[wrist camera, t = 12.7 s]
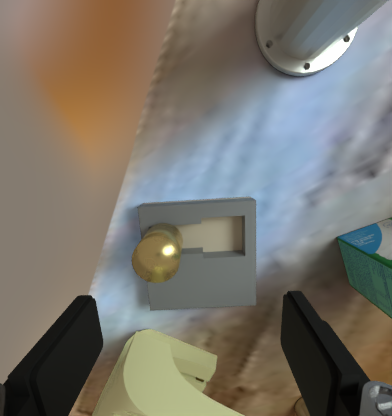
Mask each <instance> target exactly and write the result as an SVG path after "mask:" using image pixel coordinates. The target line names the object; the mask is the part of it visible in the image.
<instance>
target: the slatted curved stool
mask: <svg viewBox="0 0 392 416" xmlns="http://www.w3.org/2000/svg"><path fill="white" fill-rule="evenodd" d="M216 362H217V356H216V355H214V354H211V353H209V352H207V351H204V350H202V349H199V348H197V347H194V346H192V345H189V344H187V343H184V342H182V341H180V340H177V339H175V338H172V337H170V336H167V335H165V334H162V333H160V332H157V331H155V330H151V329H146V330H142V331H140V332H138V331H136V333H135V334H134V335H133V336H132V337H131V338H130V339H129V340H128V341H127V342H126V344H125V346H124V348H123V350H122V352H121V354H120V356H119V358H118V361H117V362H116V364H115V367H114V369H113V371H112V373H111V375H110V377H109V379H108V381H107V383H106V385H105V387H104V389H103V391H102V393H101V395H100V398H99V400H98V402H97V405H96V407H95V410H94V412H93V414H92V416H244V415H242V414H240V413H238V412H236V411H234V410H231V409H229V408H227V407H225V406H223V405H222V404H220V403H218V402H216V401H214V400H212V399H211V398H209V397H207V396H206V395H204V394H203V393H202V392H203V390H204V388H205V387H206V381H208V382H209V380H210V379H211V377H212V375H213V374H214V372H215V371H216Z"/></svg>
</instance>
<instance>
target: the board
mask: <svg viewBox="0 0 392 416" xmlns="http://www.w3.org/2000/svg"><path fill="white" fill-rule="evenodd" d="M138 214H139V222H140V230H141V239H142V238H143V237H144V236H145V234H146V233H147V231H148V230H149V229H150V228H151V227H152V226H154V225H156V224H159V223H168V224H171V225H174V226H175V227H176V228H177V229H178V230H179V231H180V233H181V234H182V237H183V246H182V252H181V258H180V264H179V268H178V271H177V272H176V274H175V275H174V276H173V277H172V278H171V279H169V280H167V281H165V282H162V283H152V282H148V281H147V288H148V296H149V304H150V311H151V310H171V309H190V308H209V307H229V306H248V305H256V200H255V199H253V198H251V197H236V198H219V199H203V200H186V201H169V202H153V203H143V204H142V205H140V206H139V207H138Z"/></svg>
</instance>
